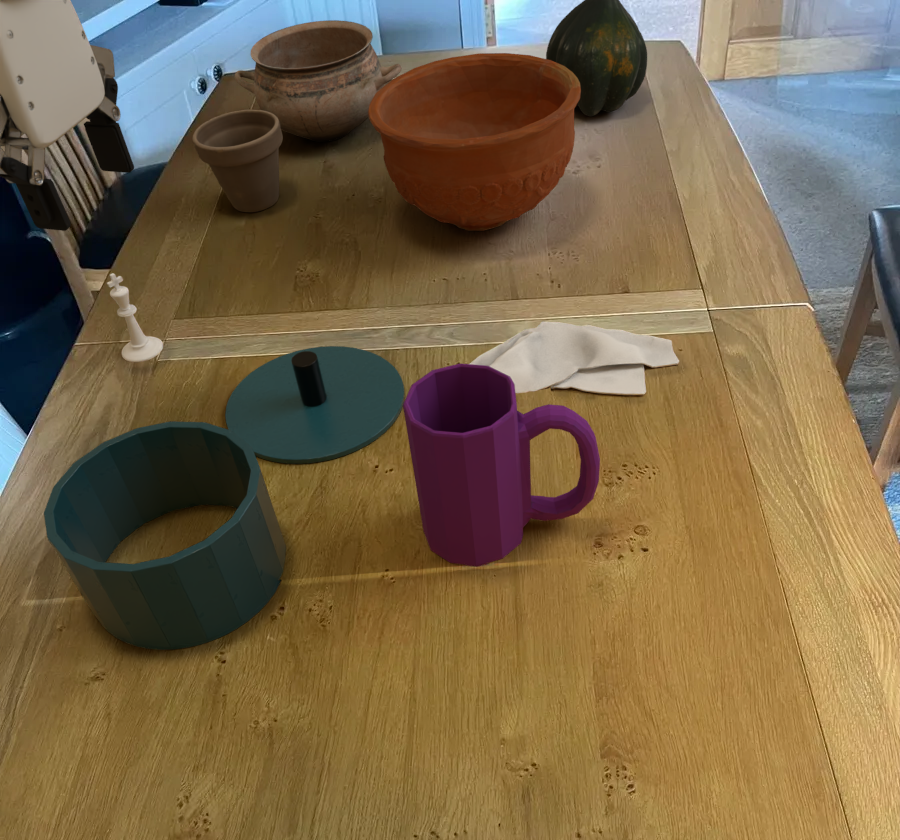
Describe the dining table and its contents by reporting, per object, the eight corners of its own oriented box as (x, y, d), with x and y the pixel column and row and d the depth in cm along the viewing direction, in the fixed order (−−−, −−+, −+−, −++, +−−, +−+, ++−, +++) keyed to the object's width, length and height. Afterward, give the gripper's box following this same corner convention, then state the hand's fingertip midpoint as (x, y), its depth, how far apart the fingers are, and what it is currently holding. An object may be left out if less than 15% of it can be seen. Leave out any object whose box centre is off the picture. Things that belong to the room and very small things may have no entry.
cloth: (669, 318, 102) (671, 299, 100) (686, 396, 93) (688, 377, 92) (433, 333, 105) (430, 315, 103) (427, 411, 96) (424, 393, 94)
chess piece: (173, 350, 107) (143, 271, 100) (138, 371, 105) (105, 292, 98) (149, 336, 110) (118, 257, 102) (114, 356, 108) (80, 277, 100)
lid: (216, 476, 92) (197, 427, 88) (239, 363, 104) (224, 314, 100) (404, 460, 91) (395, 409, 86) (406, 347, 103) (398, 297, 99)
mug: (423, 501, 87) (402, 367, 76) (591, 487, 86) (594, 349, 75) (424, 574, 81) (402, 440, 70) (604, 559, 80) (610, 422, 69)
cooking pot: (420, 102, 145) (410, 14, 136) (396, 159, 133) (383, 66, 124) (267, 107, 150) (247, 22, 140) (231, 163, 138) (207, 74, 128)
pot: (70, 658, 79) (18, 580, 71) (115, 510, 90) (74, 429, 83) (276, 643, 78) (245, 561, 70) (294, 495, 89) (269, 412, 82)
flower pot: (203, 224, 126) (179, 149, 119) (226, 183, 133) (205, 110, 126) (285, 221, 124) (267, 145, 117) (303, 180, 132) (287, 106, 124)
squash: (541, 95, 130) (613, -10, 122) (515, 61, 140) (580, -38, 132) (613, 151, 137) (685, 55, 129) (583, 115, 147) (648, 24, 140)
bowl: (607, 240, 114) (612, 112, 102) (408, 284, 112) (390, 158, 100) (545, 155, 130) (543, 36, 118) (369, 192, 128) (350, 75, 116)
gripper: (20, -77, 72) (105, 148, 85) (-135, 7, 62) (-12, 248, 75) (102, -79, 70) (176, 153, 83) (-45, 8, 59) (66, 256, 72)
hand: (87, 198), depth 79 cm, fingers open, 9 cm apart
